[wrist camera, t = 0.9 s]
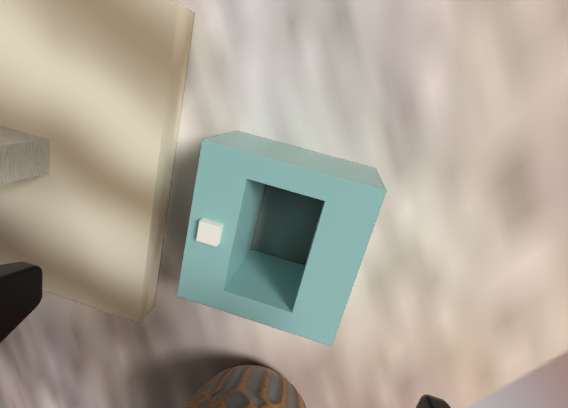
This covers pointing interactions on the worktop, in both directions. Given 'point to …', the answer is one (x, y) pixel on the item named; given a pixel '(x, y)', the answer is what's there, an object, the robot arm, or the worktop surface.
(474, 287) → the worktop surface
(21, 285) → the robot arm
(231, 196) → the teal open cube
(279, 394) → the vase
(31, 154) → the grey rectangular peg
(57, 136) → the board
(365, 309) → the worktop surface
